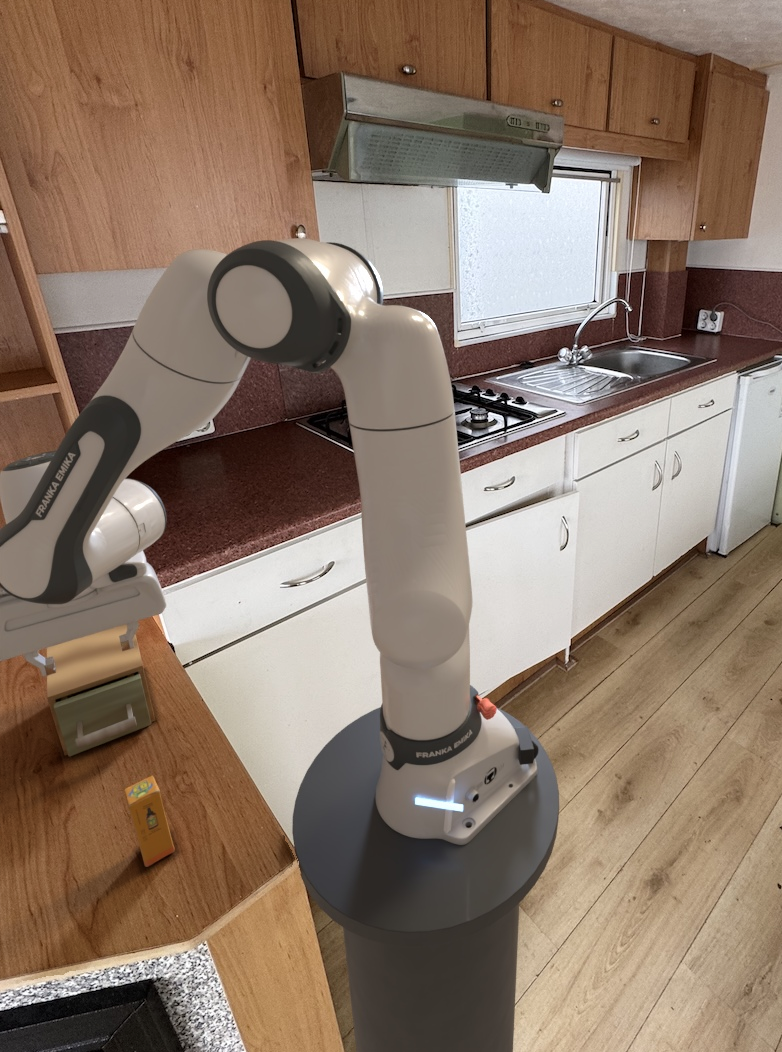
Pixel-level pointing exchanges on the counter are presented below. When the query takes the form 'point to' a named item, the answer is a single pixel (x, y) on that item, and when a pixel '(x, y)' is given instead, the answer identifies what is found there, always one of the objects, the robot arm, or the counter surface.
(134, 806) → the supplement box
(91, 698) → the drawer
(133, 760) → the counter surface
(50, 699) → the cabinet
